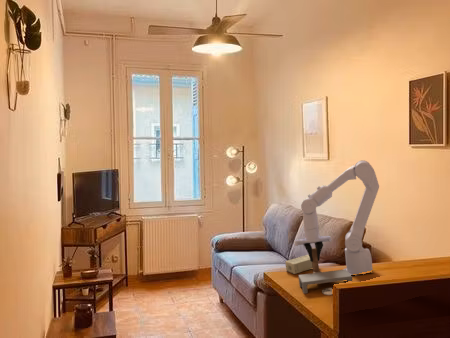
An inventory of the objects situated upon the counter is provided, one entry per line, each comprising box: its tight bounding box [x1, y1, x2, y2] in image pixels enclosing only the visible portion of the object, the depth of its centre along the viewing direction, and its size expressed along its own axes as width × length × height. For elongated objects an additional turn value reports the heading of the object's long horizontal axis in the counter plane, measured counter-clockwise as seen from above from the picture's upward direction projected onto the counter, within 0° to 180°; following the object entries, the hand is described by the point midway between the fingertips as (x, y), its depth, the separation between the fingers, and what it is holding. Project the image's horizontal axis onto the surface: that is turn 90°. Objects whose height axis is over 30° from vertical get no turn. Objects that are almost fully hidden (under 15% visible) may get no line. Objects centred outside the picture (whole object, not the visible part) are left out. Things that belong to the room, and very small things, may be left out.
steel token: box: [321, 287, 333, 296], centre depth 154 cm, size 5×5×1 cm
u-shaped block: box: [298, 268, 353, 294], centre depth 160 cm, size 18×8×4 cm, turn 90°
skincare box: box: [284, 254, 313, 275], centre depth 182 cm, size 6×4×12 cm
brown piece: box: [312, 246, 322, 273], centre depth 170 cm, size 6×12×10 cm, turn 0°
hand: (314, 260), depth 175 cm, fingers closed on brown piece, 2 cm apart
